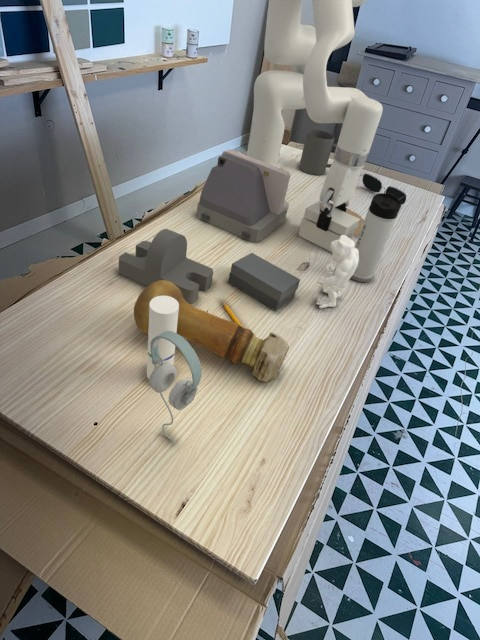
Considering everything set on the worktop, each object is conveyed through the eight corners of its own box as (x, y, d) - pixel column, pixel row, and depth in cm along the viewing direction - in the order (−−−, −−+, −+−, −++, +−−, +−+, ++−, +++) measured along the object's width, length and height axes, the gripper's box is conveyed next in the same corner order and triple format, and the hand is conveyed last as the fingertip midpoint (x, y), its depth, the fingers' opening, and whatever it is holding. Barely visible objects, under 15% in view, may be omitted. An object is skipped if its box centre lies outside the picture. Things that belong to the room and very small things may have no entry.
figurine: (336, 318, 98) (359, 258, 88) (307, 307, 99) (326, 246, 89) (347, 292, 106) (370, 234, 96) (320, 282, 107) (339, 224, 97)
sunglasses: (403, 208, 147) (408, 193, 143) (374, 223, 140) (379, 208, 136) (361, 185, 156) (365, 171, 152) (331, 198, 149) (335, 184, 145)
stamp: (277, 397, 78) (277, 326, 69) (133, 363, 86) (116, 296, 78) (294, 358, 85) (296, 290, 76) (160, 330, 94) (147, 265, 85)
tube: (147, 364, 79) (150, 294, 70) (172, 365, 80) (179, 296, 70) (145, 383, 76) (148, 312, 67) (172, 384, 77) (178, 314, 67)
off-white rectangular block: (297, 235, 123) (302, 218, 119) (311, 227, 127) (316, 210, 124) (337, 255, 118) (343, 238, 114) (350, 246, 122) (355, 229, 119)
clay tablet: (367, 226, 133) (370, 217, 131) (353, 238, 126) (356, 229, 124) (323, 207, 138) (326, 198, 137) (307, 217, 131) (309, 208, 130)
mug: (295, 169, 157) (303, 133, 150) (303, 161, 164) (312, 127, 157) (333, 182, 154) (343, 146, 147) (340, 173, 161) (350, 138, 153)
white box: (303, 216, 119) (305, 207, 117) (317, 209, 124) (320, 200, 122) (344, 236, 114) (347, 227, 113) (357, 227, 119) (360, 218, 117)
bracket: (143, 253, 105) (144, 210, 98) (213, 283, 100) (219, 240, 93) (116, 272, 98) (115, 227, 91) (190, 305, 93) (195, 260, 86)
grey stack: (227, 282, 101) (231, 263, 98) (247, 270, 106) (251, 252, 103) (276, 311, 96) (281, 292, 93) (294, 298, 101) (300, 279, 98)
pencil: (266, 368, 83) (267, 365, 83) (220, 303, 95) (221, 300, 95) (270, 367, 84) (271, 364, 83) (224, 302, 96) (224, 300, 95)
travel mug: (374, 273, 114) (405, 197, 101) (368, 286, 109) (400, 208, 96) (349, 264, 115) (377, 188, 103) (343, 276, 110) (371, 198, 98)
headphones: (139, 428, 69) (142, 327, 57) (159, 414, 72) (166, 315, 59) (177, 464, 66) (189, 365, 53) (197, 447, 68) (213, 350, 56)
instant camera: (294, 223, 127) (308, 171, 118) (247, 247, 114) (257, 190, 104) (236, 193, 136) (244, 142, 126) (185, 212, 123) (190, 156, 113)
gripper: (353, 144, 115) (333, 209, 127) (318, 157, 104) (299, 228, 115) (380, 154, 112) (357, 220, 123) (347, 170, 101) (324, 241, 112)
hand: (329, 223), depth 119 cm, fingers closed on white box, 7 cm apart
